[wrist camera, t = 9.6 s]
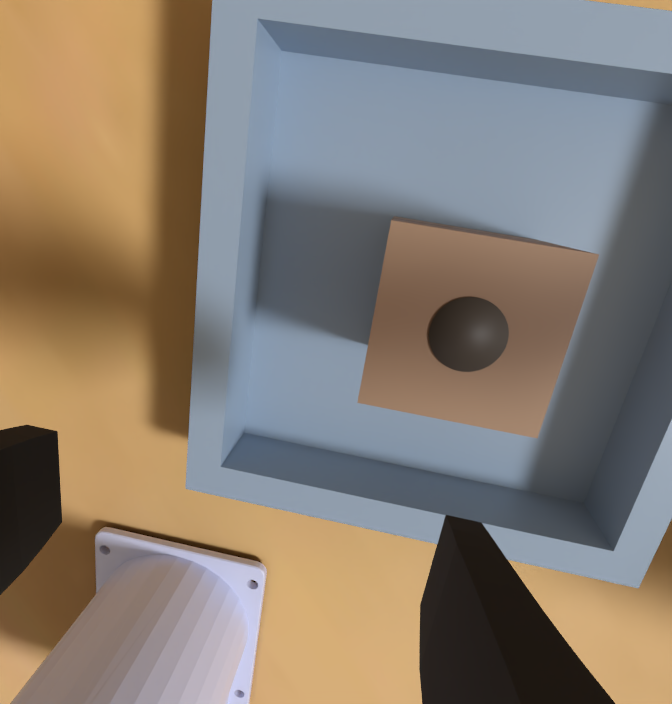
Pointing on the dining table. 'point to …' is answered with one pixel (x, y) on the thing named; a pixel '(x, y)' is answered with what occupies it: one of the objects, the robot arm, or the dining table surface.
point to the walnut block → (472, 325)
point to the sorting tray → (444, 208)
